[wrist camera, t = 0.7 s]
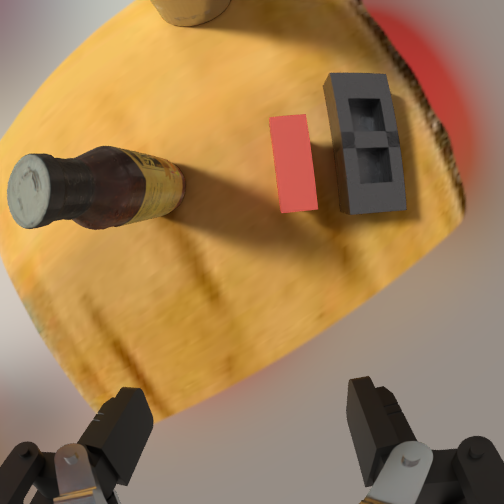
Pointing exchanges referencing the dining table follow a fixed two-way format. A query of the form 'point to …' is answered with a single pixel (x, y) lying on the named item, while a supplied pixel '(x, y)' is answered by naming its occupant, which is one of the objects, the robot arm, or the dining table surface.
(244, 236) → the dining table surface
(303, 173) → the red block
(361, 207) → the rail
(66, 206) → the sauce bottle
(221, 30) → the dining table surface
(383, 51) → the dining table surface
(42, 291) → the dining table surface
